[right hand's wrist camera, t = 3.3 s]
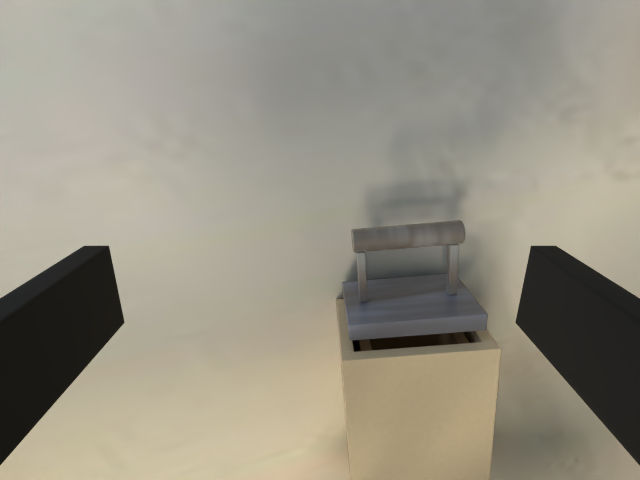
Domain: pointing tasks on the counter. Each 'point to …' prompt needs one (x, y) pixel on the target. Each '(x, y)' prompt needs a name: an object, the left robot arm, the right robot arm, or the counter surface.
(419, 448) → the cabinet
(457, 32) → the counter surface
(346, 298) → the drawer
